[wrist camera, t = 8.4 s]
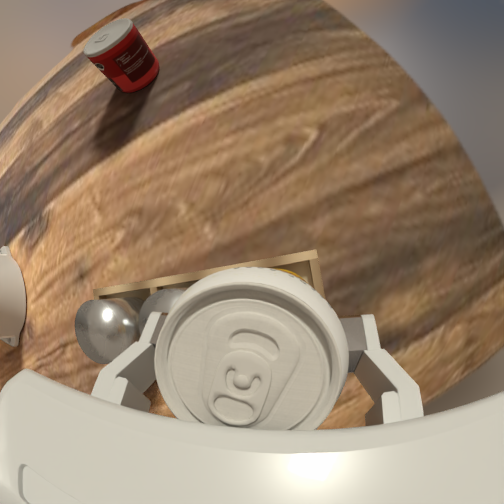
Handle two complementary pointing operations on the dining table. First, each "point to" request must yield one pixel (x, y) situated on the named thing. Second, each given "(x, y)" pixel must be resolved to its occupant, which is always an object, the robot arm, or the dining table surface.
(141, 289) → the compartment tray
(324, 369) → the beer can
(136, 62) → the canned food
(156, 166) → the dining table surface
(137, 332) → the seated canisters
